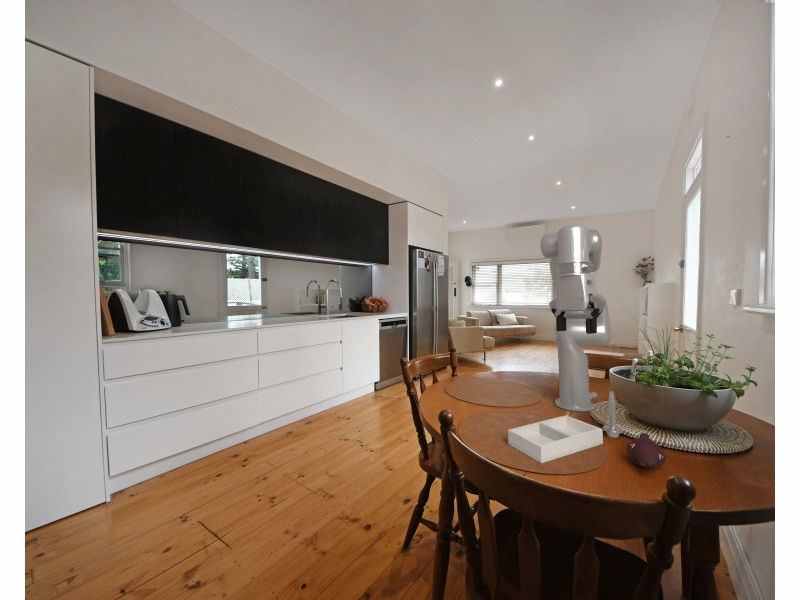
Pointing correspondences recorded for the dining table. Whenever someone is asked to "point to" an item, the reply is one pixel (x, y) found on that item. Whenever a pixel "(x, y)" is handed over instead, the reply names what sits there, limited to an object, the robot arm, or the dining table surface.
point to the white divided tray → (554, 438)
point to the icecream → (646, 452)
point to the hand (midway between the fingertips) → (575, 332)
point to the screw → (612, 419)
